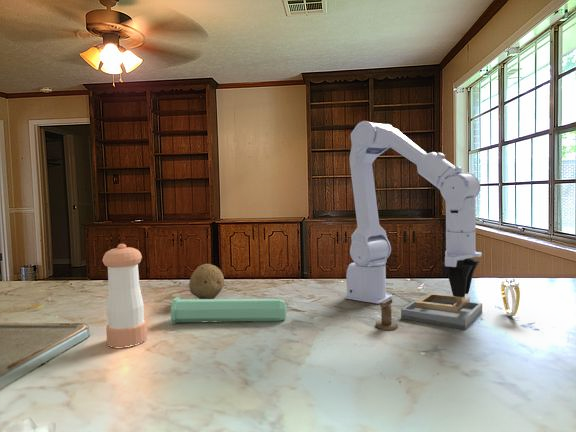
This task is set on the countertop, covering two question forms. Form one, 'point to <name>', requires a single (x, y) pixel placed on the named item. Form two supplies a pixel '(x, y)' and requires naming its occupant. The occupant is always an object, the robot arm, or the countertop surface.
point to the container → (227, 310)
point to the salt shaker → (124, 298)
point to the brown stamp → (386, 316)
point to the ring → (515, 302)
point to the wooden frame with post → (426, 304)
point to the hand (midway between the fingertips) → (460, 294)
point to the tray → (443, 314)
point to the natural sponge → (206, 281)
